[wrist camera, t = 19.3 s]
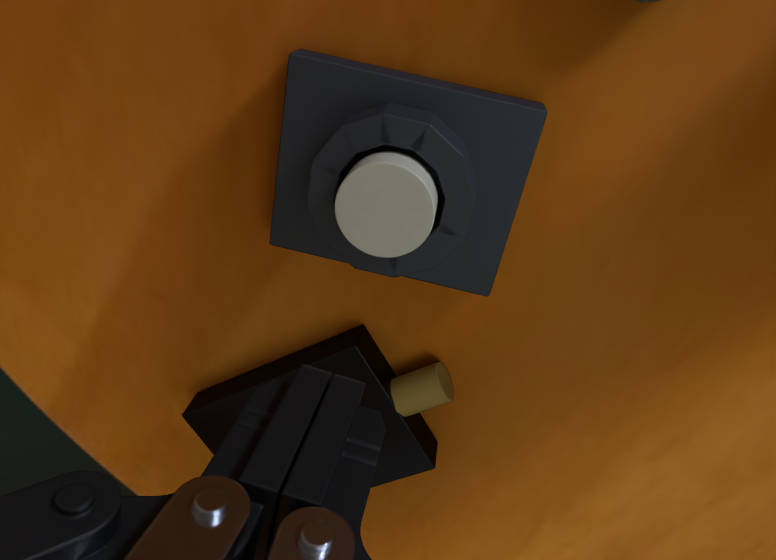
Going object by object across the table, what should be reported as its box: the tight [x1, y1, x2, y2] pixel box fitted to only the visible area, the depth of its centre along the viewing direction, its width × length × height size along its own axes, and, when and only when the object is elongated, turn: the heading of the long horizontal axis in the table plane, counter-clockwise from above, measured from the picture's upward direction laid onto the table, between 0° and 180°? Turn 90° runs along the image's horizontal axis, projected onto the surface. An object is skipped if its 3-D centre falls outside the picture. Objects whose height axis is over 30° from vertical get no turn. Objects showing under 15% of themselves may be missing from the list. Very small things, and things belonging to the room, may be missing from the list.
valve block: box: [182, 325, 454, 488], centre depth 34 cm, size 15×9×2 cm, turn 119°
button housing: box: [269, 49, 547, 296], centre depth 26 cm, size 11×9×4 cm
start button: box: [335, 151, 438, 258], centre depth 24 cm, size 4×4×2 cm
